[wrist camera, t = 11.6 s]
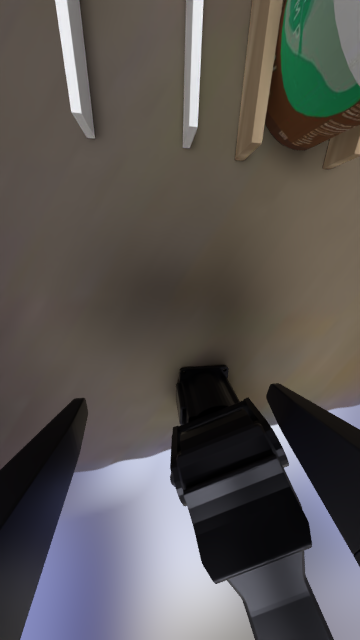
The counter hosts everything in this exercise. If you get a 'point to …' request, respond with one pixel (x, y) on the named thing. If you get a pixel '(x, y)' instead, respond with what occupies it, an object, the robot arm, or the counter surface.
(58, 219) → the counter surface
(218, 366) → the robot arm
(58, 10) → the white frame
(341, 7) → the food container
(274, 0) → the tan wooden u-shaped piece
